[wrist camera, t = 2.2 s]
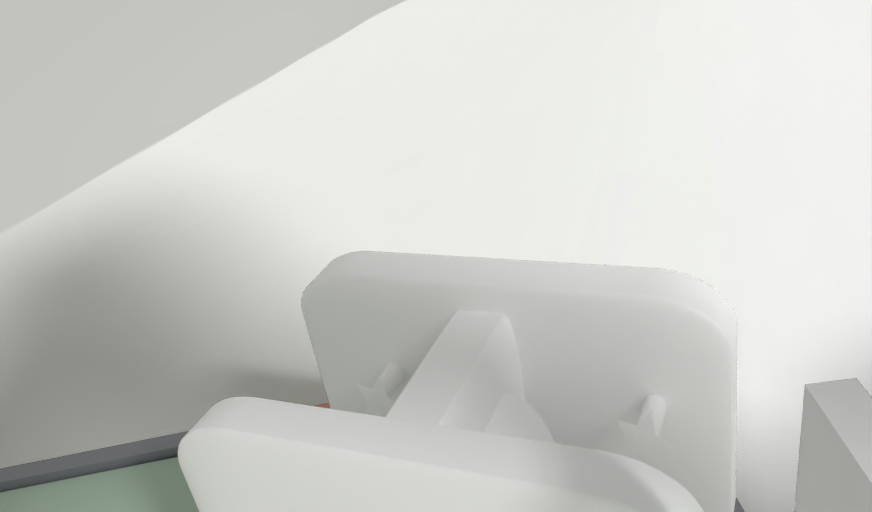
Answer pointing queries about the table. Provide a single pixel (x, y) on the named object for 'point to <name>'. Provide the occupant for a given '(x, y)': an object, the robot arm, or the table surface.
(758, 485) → the table surface
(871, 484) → the robot arm
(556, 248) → the table surface
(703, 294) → the cable organizer
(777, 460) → the table surface
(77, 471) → the divided tray
